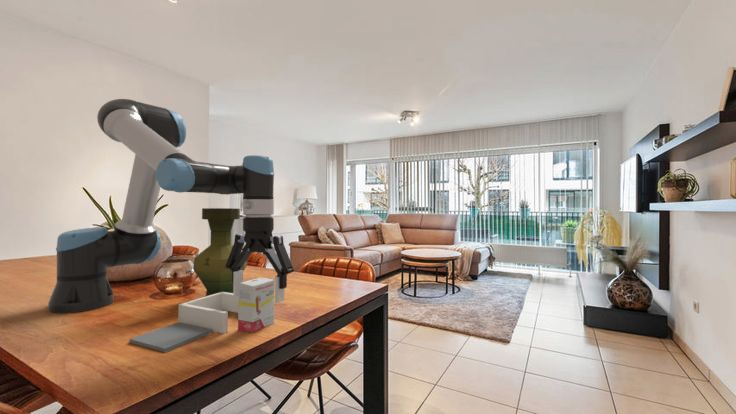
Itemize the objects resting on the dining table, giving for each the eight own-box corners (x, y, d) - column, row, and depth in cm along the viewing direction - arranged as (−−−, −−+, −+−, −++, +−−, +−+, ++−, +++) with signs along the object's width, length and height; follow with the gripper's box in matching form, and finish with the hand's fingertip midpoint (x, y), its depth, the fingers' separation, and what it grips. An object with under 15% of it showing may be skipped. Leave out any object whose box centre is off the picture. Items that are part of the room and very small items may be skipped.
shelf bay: (178, 323, 88) (178, 304, 88) (222, 308, 101) (222, 291, 101) (223, 333, 81) (223, 313, 81) (264, 315, 94) (264, 298, 94)
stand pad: (129, 342, 75) (129, 338, 75) (178, 325, 86) (178, 322, 86) (165, 352, 71) (165, 348, 71) (212, 332, 82) (212, 329, 82)
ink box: (252, 334, 81) (252, 285, 81) (237, 330, 83) (237, 283, 83) (275, 322, 89) (275, 278, 89) (260, 319, 91) (261, 276, 91)
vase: (229, 290, 122) (230, 208, 121) (256, 297, 112) (257, 208, 112) (183, 300, 108) (183, 208, 108) (209, 310, 99) (210, 209, 99)
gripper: (211, 216, 88) (211, 296, 88) (289, 217, 78) (289, 308, 78) (233, 215, 94) (233, 290, 94) (307, 216, 85) (307, 300, 85)
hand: (258, 298), depth 86 cm, fingers open, 13 cm apart
